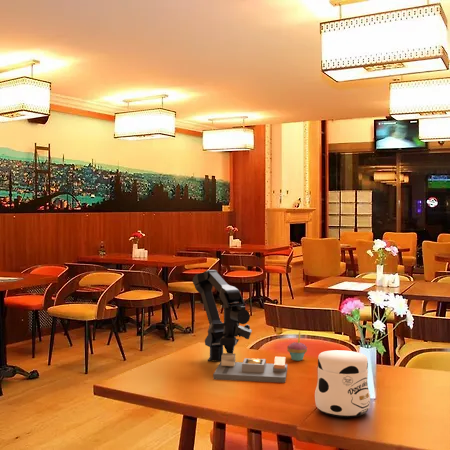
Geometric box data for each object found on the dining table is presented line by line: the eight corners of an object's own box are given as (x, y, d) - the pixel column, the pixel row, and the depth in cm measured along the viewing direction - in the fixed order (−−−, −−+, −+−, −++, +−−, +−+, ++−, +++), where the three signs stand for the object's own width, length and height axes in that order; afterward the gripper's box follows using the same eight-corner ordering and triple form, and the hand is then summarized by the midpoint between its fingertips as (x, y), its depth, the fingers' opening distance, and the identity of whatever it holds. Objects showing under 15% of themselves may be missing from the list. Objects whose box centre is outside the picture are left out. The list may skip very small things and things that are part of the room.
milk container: (372, 423, 177) (373, 364, 176) (314, 420, 180) (314, 361, 179) (367, 404, 194) (368, 350, 193) (314, 401, 197) (315, 348, 196)
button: (248, 365, 231) (248, 358, 231) (261, 366, 230) (261, 358, 230) (246, 369, 226) (246, 361, 226) (259, 369, 225) (259, 362, 225)
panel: (220, 366, 239) (220, 354, 239) (287, 369, 235) (287, 356, 235) (213, 379, 222) (213, 366, 221) (285, 382, 218) (285, 369, 217)
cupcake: (293, 355, 257) (293, 328, 256) (310, 358, 252) (311, 330, 251) (283, 359, 250) (283, 331, 249) (301, 363, 245) (301, 334, 244)
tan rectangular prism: (223, 363, 235) (223, 353, 235) (235, 363, 234) (235, 353, 234) (221, 365, 231) (221, 355, 231) (234, 366, 230) (234, 356, 230)
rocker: (275, 359, 230) (275, 356, 230) (285, 360, 230) (285, 356, 230) (274, 368, 224) (274, 364, 223) (284, 368, 223) (284, 365, 223)
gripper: (247, 325, 228) (247, 364, 229) (252, 316, 247) (252, 353, 247) (219, 324, 230) (219, 363, 230) (226, 315, 248) (226, 351, 249)
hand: (230, 357), depth 239 cm, fingers closed
